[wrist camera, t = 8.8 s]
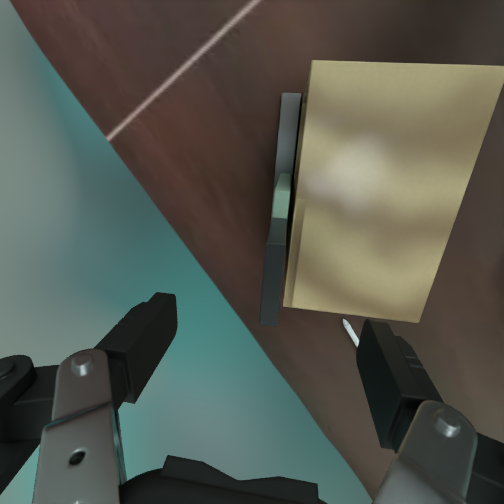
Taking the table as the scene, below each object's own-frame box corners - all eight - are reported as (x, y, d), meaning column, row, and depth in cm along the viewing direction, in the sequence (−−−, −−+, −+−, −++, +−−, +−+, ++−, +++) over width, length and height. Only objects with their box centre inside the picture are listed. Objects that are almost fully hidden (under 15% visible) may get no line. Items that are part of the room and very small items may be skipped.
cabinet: (282, 93, 26) (275, 59, 15) (414, 99, 24) (510, 65, 14) (268, 249, 32) (257, 303, 21) (374, 260, 31) (418, 323, 20)
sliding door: (280, 172, 27) (268, 207, 13) (290, 173, 27) (289, 209, 13) (273, 250, 31) (257, 349, 16) (282, 251, 31) (273, 351, 16)
